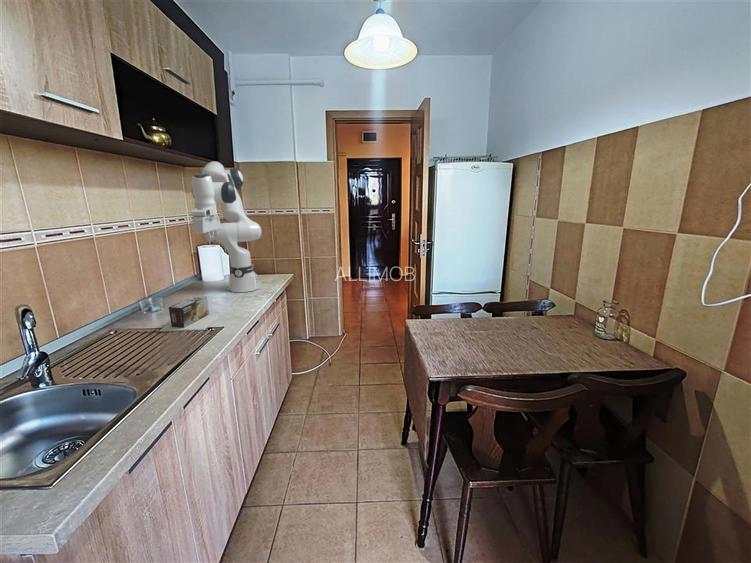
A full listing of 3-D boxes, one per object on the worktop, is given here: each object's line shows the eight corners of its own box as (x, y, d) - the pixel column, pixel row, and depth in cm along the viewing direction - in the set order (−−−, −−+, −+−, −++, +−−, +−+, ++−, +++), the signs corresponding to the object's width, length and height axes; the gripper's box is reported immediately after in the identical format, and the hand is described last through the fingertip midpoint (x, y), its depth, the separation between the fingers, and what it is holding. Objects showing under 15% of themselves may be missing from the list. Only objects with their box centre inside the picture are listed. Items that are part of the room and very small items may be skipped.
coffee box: (194, 295, 154) (167, 306, 138) (207, 295, 152) (181, 307, 137) (197, 314, 156) (171, 327, 141) (209, 315, 155) (184, 328, 139)
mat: (180, 317, 153) (179, 316, 153) (220, 316, 154) (219, 315, 154) (159, 331, 138) (159, 330, 138) (204, 330, 138) (204, 329, 138)
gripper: (209, 210, 163) (212, 238, 167) (188, 212, 143) (193, 244, 147) (222, 209, 163) (225, 238, 167) (203, 212, 144) (207, 244, 147)
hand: (210, 241), depth 157 cm, fingers closed
